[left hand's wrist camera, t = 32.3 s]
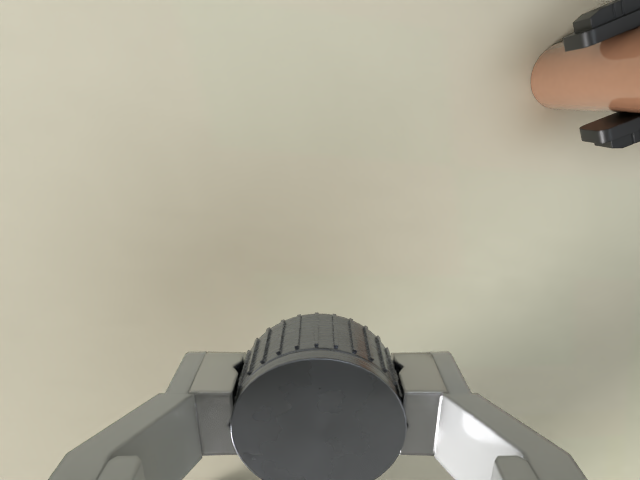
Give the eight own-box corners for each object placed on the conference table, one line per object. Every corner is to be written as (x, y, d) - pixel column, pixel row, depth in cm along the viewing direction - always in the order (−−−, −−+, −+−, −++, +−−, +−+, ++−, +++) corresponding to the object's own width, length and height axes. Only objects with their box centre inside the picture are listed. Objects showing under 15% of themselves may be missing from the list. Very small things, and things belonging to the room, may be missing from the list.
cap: (219, 404, 11) (200, 463, 9) (281, 284, 10) (272, 326, 8) (349, 454, 11) (355, 518, 10) (424, 348, 10) (444, 399, 8)
